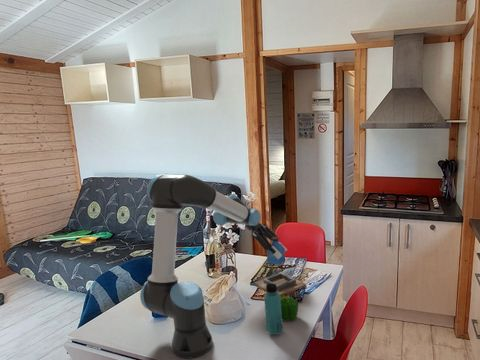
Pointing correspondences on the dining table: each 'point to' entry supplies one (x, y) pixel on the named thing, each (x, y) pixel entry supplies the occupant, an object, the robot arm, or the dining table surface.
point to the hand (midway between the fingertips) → (282, 254)
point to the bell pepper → (289, 308)
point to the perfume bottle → (271, 256)
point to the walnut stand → (281, 283)
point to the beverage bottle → (273, 310)
